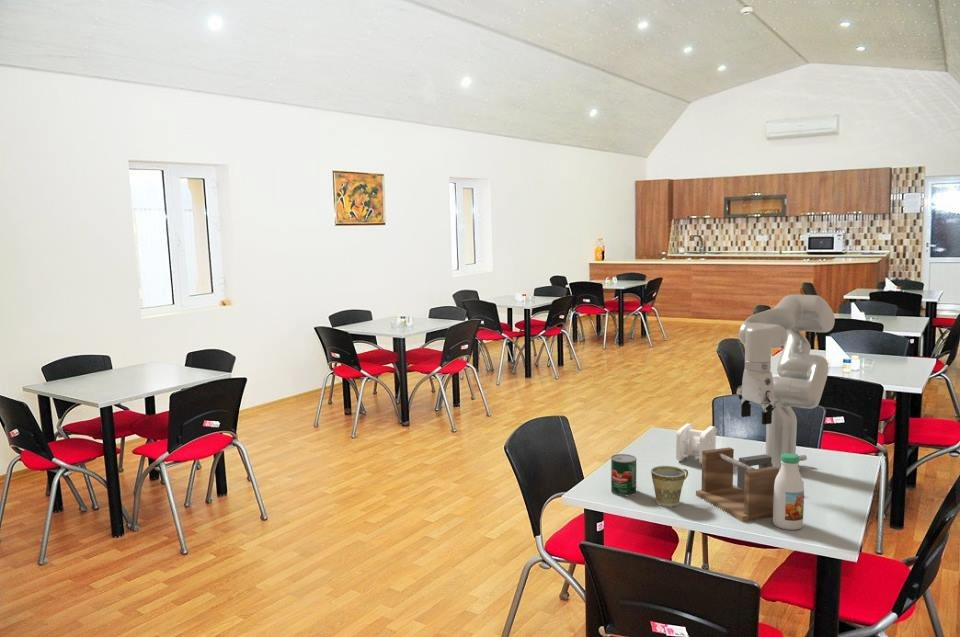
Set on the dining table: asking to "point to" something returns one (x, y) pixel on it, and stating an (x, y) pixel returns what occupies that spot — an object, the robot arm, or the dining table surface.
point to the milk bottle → (788, 494)
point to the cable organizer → (694, 442)
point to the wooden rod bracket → (730, 497)
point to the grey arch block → (759, 460)
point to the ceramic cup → (668, 484)
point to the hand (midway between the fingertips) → (756, 420)
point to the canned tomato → (623, 474)
